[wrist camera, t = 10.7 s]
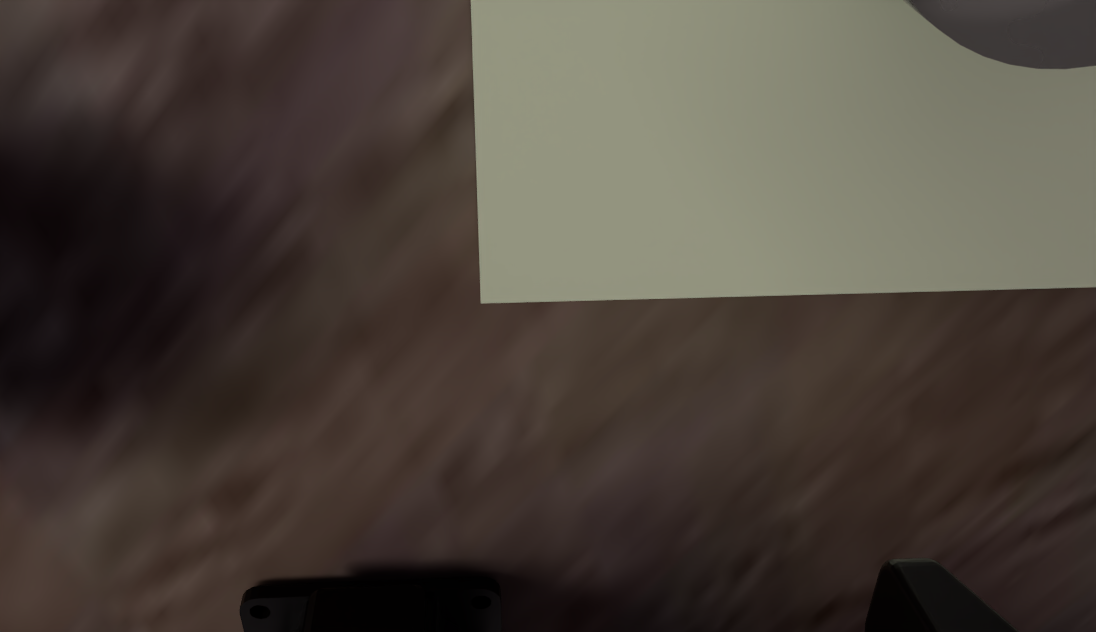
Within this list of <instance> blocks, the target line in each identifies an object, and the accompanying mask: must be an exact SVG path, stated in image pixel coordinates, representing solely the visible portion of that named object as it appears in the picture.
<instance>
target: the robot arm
mask: <svg viewBox="0 0 1096 632" xmlns="http://www.w3.org/2000/svg"><path fill="white" fill-rule="evenodd" d="M477 596H483V597H477ZM259 605H262V606H259ZM240 616H241V621H242V625H243V629H244V632H502V630H501V592H500V586H499V584H498V583H497V582H496V581H495V580H493V579H491V578H488V577H460V578H437V579H413V580H389V581H365V582H342V583H318V584H294V585H270V586H257V587H252V588H250V589H248V590H246V592H245V593H244V594H243V597H242V601H241V606H240ZM865 632H1019V631H1018V630H1017V629H1015V628H1014V627H1013V626H1012V625H1011V624H1010V623H1008V622H1007V621H1006V620H1005V619H1004V618H1003V617H1001V616H1000V615H999V614H998V613H997V612H996V611H994V610H993V609H992V608H991V607H990V606H989V605H988V604H986V603H985V602H984V601H983V600H982V599H981V598H979V597H978V596H977V595H976V594H975V593H974V592H972V591H971V590H970V589H969V588H968V587H967V586H965V585H964V584H963V583H962V582H961V581H960V580H958V579H957V578H956V577H955V576H954V575H953V574H952V573H950V572H949V571H948V570H947V569H946V568H945V567H943V566H942V565H941V564H940V563H938V562H936V561H934V560H932V559H929V558H909V559H891V560H888V561H886V562H885V563H884V564H883V566H882V567H881V569H880V572H879V575H878V579H877V582H876V586H875V589H874V593H873V597H872V600H871V604H870V607H869V611H868V614H867V618H866V623H865Z"/></svg>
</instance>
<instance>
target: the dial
mask: <svg viewBox="0 0 1096 632" xmlns="http://www.w3.org/2000/svg"><path fill="white" fill-rule="evenodd" d="M903 1H904V2H905V3H907V4H908V5H909V6H910V7H912V8H913V9H914V10H915V11H916V12H918V13H919V14H920V15H921V16H922V17H924V18H925V19H926V20H927V21H929V22H930V23H931V24H932V25H933V26H935V27H936V28H937V29H938V30H940V31H941V32H943V33H944V34H945V35H947V36H948V37H949V38H951V39H952V40H954V41H955V42H956V43H958V44H959V45H961V46H963V47H965V48H967V49H969V50H971V51H973V52H975V53H977V54H979V55H981V56H983V57H987V58H990V59H993V60H996V61H999V62H1003V63H1006V64H1009V65H1015V66H1022V67H1028V68H1035V69H1071V68H1080V67H1089V66H1096V0H903Z"/></svg>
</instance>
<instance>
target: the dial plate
mask: <svg viewBox="0 0 1096 632" xmlns="http://www.w3.org/2000/svg"><path fill="white" fill-rule="evenodd" d="M471 19H472V50H473V80H474V110H475V140H476V171H477V201H478V231H479V262H480V292H481V303H513V302H551V301H589V300H627V299H664V298H702V297H740V296H778V295H816V294H853V293H891V292H929V291H967V290H1005V289H1042V288H1080V287H1096V66H1089V67H1080V68H1071V69H1035V68H1028V67H1022V66H1015V65H1009V64H1006V63H1003V62H999V61H996V60H993V59H990V58H987V57H983V56H981V55H979V54H977V53H975V52H973V51H971V50H969V49H967V48H965V47H963V46H961V45H959V44H958V43H956V42H955V41H954V40H952V39H951V38H949V37H948V36H947V35H945V34H944V33H943V32H941V31H940V30H938V29H937V28H936V27H935V26H933V25H932V24H931V23H930V22H929V21H927V20H926V19H925V18H924V17H922V16H921V15H920V14H919V13H918V12H916V11H915V10H914V9H913V8H912V7H910V6H909V5H908V4H907V3H905V2H904V1H903V0H471Z"/></svg>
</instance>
